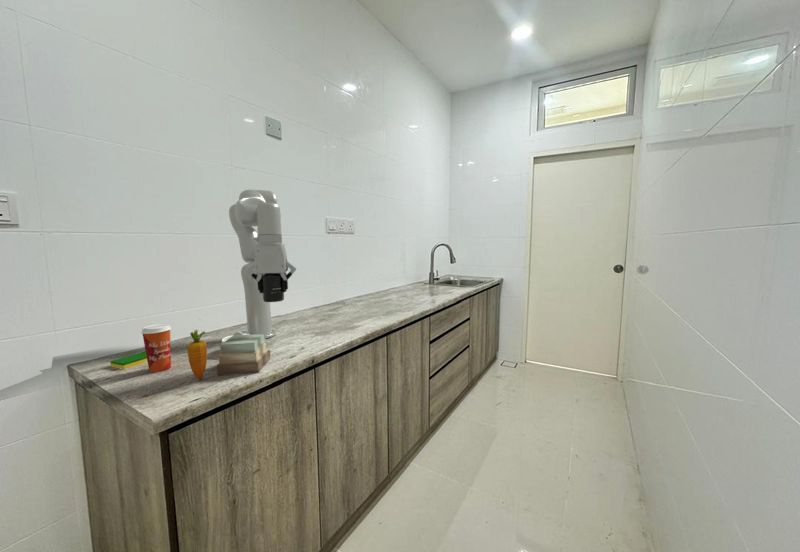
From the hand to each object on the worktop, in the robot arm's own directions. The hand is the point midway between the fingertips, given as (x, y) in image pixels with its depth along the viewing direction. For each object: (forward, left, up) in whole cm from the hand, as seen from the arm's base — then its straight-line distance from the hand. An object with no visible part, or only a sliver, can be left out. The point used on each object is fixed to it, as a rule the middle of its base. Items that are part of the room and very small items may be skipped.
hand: (273, 291), depth 112 cm
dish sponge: (-2, -47, -23) cm, 52 cm away
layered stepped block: (+9, -8, -23) cm, 26 cm away
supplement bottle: (0, 0, -3) cm, 3 cm away
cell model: (-8, -17, -23) cm, 29 cm away
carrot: (+18, -17, -23) cm, 34 cm away
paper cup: (+7, -35, -23) cm, 42 cm away
